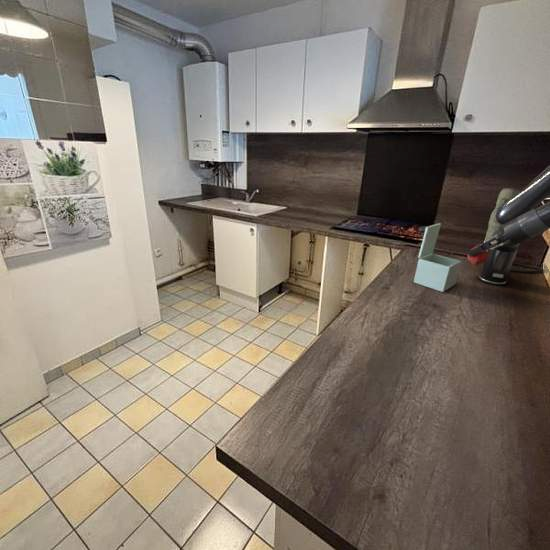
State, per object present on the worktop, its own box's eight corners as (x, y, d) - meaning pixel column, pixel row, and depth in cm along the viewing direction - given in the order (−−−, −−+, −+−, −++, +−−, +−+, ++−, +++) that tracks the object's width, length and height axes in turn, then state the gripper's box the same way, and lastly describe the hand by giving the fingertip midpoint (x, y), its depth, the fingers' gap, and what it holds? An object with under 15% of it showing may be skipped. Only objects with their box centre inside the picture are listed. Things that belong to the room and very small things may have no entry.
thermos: (501, 259, 148) (526, 188, 134) (494, 264, 141) (519, 190, 127) (482, 255, 154) (503, 186, 140) (474, 259, 147) (496, 188, 133)
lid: (441, 223, 117) (429, 221, 120) (428, 227, 110) (415, 224, 114) (433, 252, 122) (421, 249, 126) (420, 258, 115) (408, 254, 119)
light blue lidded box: (454, 284, 119) (461, 260, 115) (442, 292, 112) (449, 267, 108) (426, 275, 127) (431, 253, 123) (413, 282, 120) (418, 258, 116)
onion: (461, 262, 106) (467, 241, 103) (476, 262, 106) (482, 241, 103) (472, 268, 100) (479, 246, 97) (488, 268, 101) (495, 246, 98)
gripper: (527, 240, 85) (470, 266, 98) (539, 233, 93) (485, 257, 106) (512, 219, 86) (458, 247, 100) (524, 213, 95) (473, 240, 108)
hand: (472, 252), depth 103 cm, fingers closed on onion, 5 cm apart
